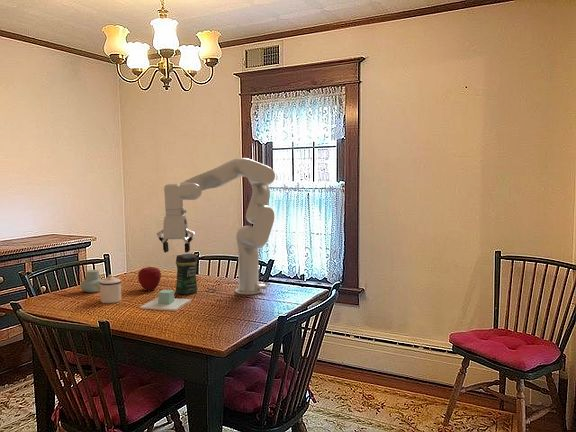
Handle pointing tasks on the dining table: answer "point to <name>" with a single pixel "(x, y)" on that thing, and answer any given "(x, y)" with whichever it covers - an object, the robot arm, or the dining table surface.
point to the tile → (171, 307)
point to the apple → (149, 277)
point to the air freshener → (91, 281)
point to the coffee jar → (186, 274)
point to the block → (166, 297)
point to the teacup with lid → (110, 290)
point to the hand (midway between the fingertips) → (176, 252)
